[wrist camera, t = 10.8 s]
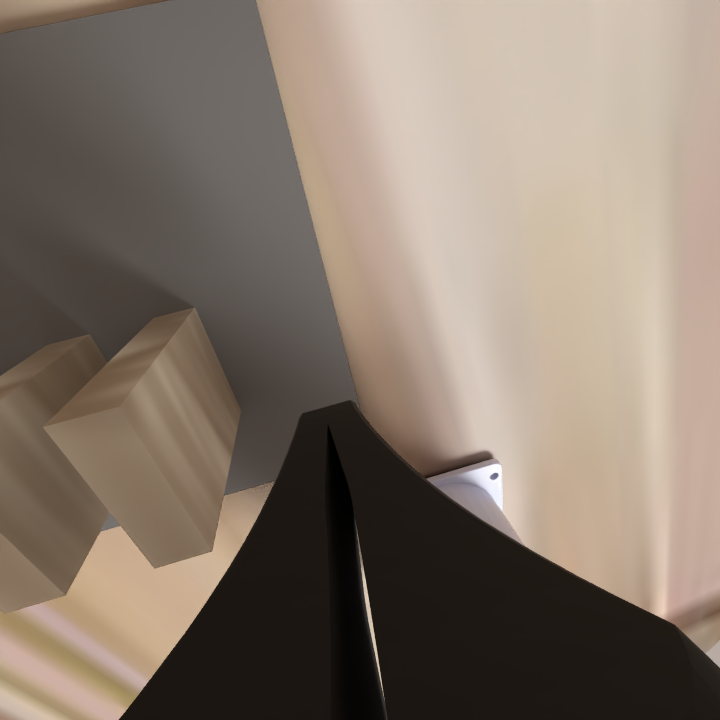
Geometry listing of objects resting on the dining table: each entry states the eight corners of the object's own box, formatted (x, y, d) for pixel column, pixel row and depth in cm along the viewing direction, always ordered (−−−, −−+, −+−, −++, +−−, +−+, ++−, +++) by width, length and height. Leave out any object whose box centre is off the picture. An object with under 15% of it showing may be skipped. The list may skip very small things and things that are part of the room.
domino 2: (194, 307, 14) (119, 406, 8) (241, 410, 16) (212, 551, 10) (153, 317, 14) (43, 427, 8) (206, 420, 16) (154, 568, 10)
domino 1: (89, 334, 14) (-77, 459, 7) (152, 435, 16) (65, 595, 10) (46, 345, 13) (-159, 481, 7) (116, 445, 16) (4, 613, 10)
